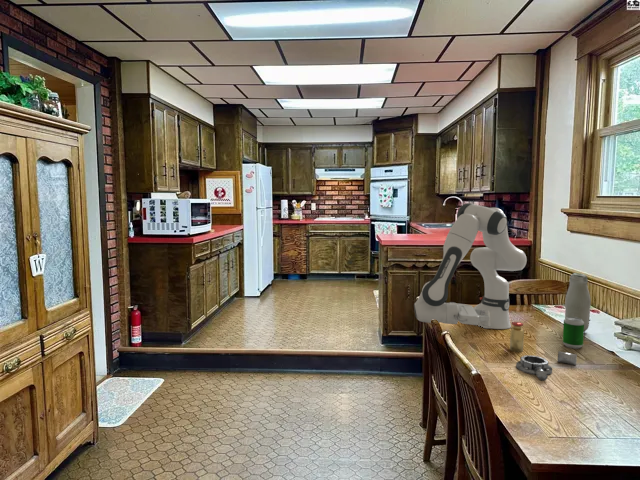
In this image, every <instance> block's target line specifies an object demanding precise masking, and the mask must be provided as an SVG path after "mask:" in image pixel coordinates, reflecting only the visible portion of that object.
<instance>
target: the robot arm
mask: <svg viewBox="0 0 640 480" xmlns="http://www.w3.org/2000/svg"><path fill="white" fill-rule="evenodd" d="M508 230H509V229H508V218H507V216H506V214H505V213H504V211H503V210H502V209H500V208H499V207H487V206H483V205H478V204H474V203H469V202H467V203H464V204H462V205H461V206H459V208H458V209H457V213H456V220H455V221H454V223H453V225H452V226H451V227H450V229H449V231H448V233H447V235H446V238H445V241H444V244H443V246H442V248H443V255H442V260H441V263H440V265H439V267H438V269H437V271H436V272H435V273H436V274H435V275H434V277H433V278H432V279H431V280H429V281H427V282H425V283H424V285H423V287H422V289H421V292H420V295H419V296H418V298H417V300H416V301H415V302H414V304H413V309H414V310H413V312H414V316H415V318H416V320H418V321H419V322H422V323H429V324H432V323H431V320H432V319H436V320H437V321H438V323H442V324H448V325H449V324H450V325H458V322H459V323H461V324H463V325H471V326H472V325H473V326H477V325H478V326H477V327H480V326H481V327H480V328H482V327H483V328H482V329H495V330H506V329H511V328H512V323H511V321H510V320H511V319H510V314H509V311H510V310H509V309H510V296H509V295H510V293H509V291H510V285H509V282H508V281H507V279H505V278H504V277H502V276H500V275H499V274H498V272H497V271H504V272H505V271H506V272H507V271H508V272H514V271H515V272H516V271H522V270H523V269H524V268H525V267H526V265H527V261H528V259H527V256H526V253H525V251H523V250H522V249H519V248H518V247H516V246H515V245H514V244H513V243H512V242H511V240H510V237H509V232H508ZM478 232H482V240H483V243H484V246H485V247H476V248H474V249H473V250H472V251H471V253H470V256H469V260H470V263H471V265H472V266H473V267H474V268H475V269H477V271H479V273H480V275H481V277H482V278H483V282H484V283H483V284H484V285H483V286H484V295H483V296H482V297H479V300H480V301H481V302H480V303H479V304H476V305H474V306H473V305H470V304H465V303H456V302H455V301H450V302H446V301H447V299H448V297H449V296H448V295H449V286H450V285H449V284H450V282H451V280H452V278H453V277H454V275H455V274H454V273H455V271H456V270H457V267H458V266H459V265H460V263H461V262H462V260H463V259H464V258H465V256H466V255H467V254H468V253H469V251H470V249H471V248H472V247H473V244H474V243H475V240H476V237H477V234H478Z"/></svg>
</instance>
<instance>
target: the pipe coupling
mask: <svg viewBox="0 0 640 480" xmlns="http://www.w3.org/2000/svg"><path fill="white" fill-rule="evenodd" d="M557 362H558V363H562V364H568V365H573V366H576V365H577V354H576V353H570V352H564V351H558V352H557Z"/></svg>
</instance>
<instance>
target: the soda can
mask: <svg viewBox="0 0 640 480" xmlns="http://www.w3.org/2000/svg"><path fill="white" fill-rule="evenodd" d="M562 326H563V330H562V331H563V332H562V343H563V345H564V346H565V347H566V348H569V349H574V350H575V349H578V350H579V349H581V348H582V347H583V346H584V333H585V331H584V322H583V321H582V319H580V318H576V317H567V318H566V319H565V318H564V319H563V325H562Z"/></svg>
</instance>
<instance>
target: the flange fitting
mask: <svg viewBox="0 0 640 480" xmlns="http://www.w3.org/2000/svg"><path fill="white" fill-rule="evenodd" d="M515 366H516V369H517V370H519V371H520V372H522V373H525V374H528V375H532V376H536V377H537V378H538V380H540V381H542V382H543V381H546V380H548V377H549V375H551V374H552V373H553V367H552V366H550V365H549V361H548V360H547V359H546V358H545V357H541V356H538V355H531V354H530V355H529V354H528V355H522V356H521V357H520V360H518V361H517V362H516V365H515Z"/></svg>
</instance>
